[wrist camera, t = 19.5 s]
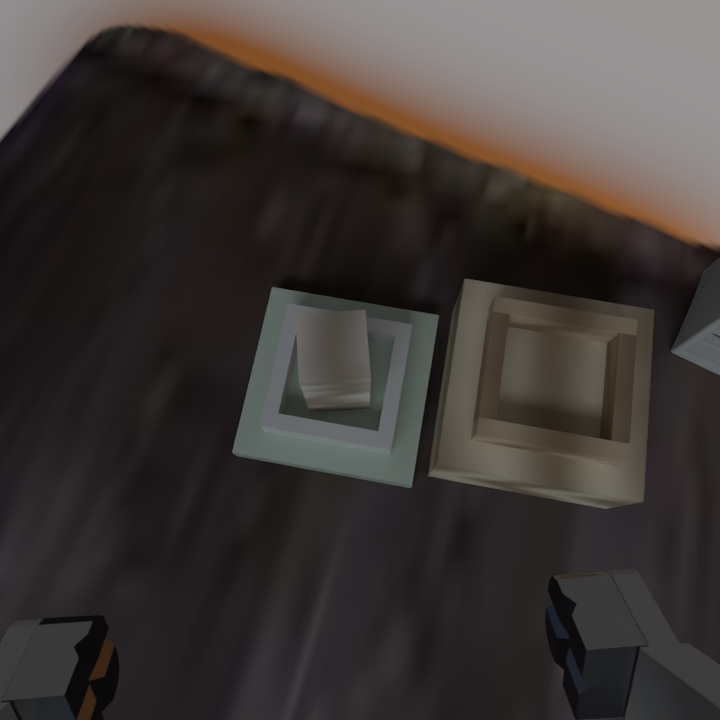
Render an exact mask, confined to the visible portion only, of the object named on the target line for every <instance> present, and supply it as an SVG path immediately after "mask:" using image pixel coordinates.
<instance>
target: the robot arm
mask: <svg viewBox="0 0 720 720" xmlns="http://www.w3.org/2000/svg"><path fill="white" fill-rule="evenodd" d="M548 592H549V595H550V597H551V600H552V603H551V604H550V605H549V606H548V607H547V608H546V618H545V624H546V633H547V639H548V643H549V647H550V651H551V653H552V656H553V659H554V662H555V663H556V664H558V665H559V666H560V667H561V668H562V669H564V677H563V687H564V690H565V693H566V695H567V698H568V701H569V704H570V706H571V709H572V712H573V714H574V717H575V720H586V719H602V718H619V717H625V719H624V720H720V665H719V664H718V663H716V662H715V661H713V660H712V659H710V658H709V657H708V656H706V655H705V654H703V653H702V652H700V651H699V650H697V649H696V648H694V647H693V646H692V645H690V644H689V643H681V644H680V643H679V641H678V640H677V638H676V636H675V634H674V633H673V631H672V629H671V628H670V626H669V624H668V622H667V621H666V619H665V617H664V615H663V614H662V612H661V610H660V608H659V607H658V605H657V603H656V602H655V600H654V598H653V596H652V595H651V593H650V591H649V589H648V588H647V586H646V584H645V582H644V581H643V579H642V577H641V576H640V574H639V572H637V571H636V570H635V569H624V570H612V571H606V572H604V571H598V572H587V573H577V574H567V575H557V576H552V577H551V579H550V580H549V587H548ZM108 629H109V628H108V625H107V623H106V621H105V618H104V616H102V615H92V616H74V617H57V618H44V619H30V620H16V621H15V622H14V623H13V624H12V625H11V626H10V627H9V628H8V629H7V631H6V633H5V635H4V637H3V639H2V641H1V643H0V720H104V719H103V716H102V714H101V712H102V711H103V710H104V709H105V708H106V707H107V706H108V705H109V704H110V703H111V702H112V701H113V699H114V696H115V692H116V689H117V685H118V676H119V659H118V653H117V650H116V647H115V645H114V644H113V643H111V642H110V641H108V640H107V639H105V638H106V635H107V632H108Z"/></svg>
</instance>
